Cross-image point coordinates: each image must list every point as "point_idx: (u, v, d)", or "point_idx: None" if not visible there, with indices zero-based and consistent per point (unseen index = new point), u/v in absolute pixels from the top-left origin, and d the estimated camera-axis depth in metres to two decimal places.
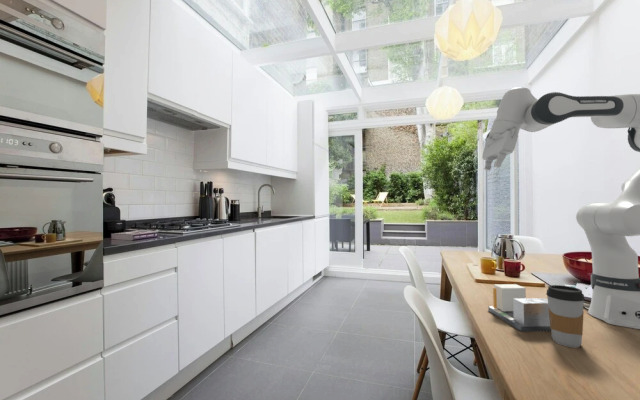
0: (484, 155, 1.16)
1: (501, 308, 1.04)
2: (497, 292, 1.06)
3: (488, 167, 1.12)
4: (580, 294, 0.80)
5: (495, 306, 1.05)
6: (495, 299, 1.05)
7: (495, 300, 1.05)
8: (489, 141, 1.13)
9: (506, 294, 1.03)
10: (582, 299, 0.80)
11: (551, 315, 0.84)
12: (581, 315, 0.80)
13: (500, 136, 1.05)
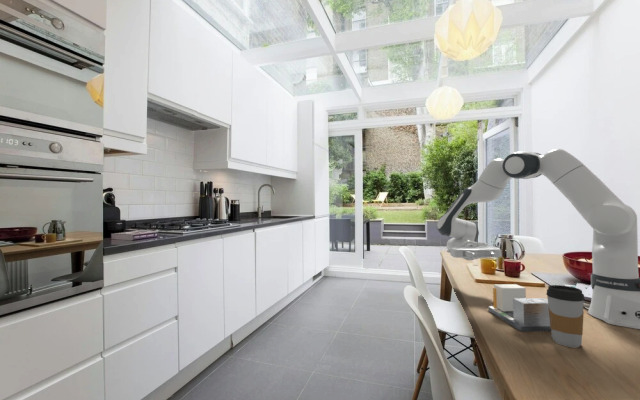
0: None
1: (501, 308, 1.04)
2: (497, 292, 1.06)
3: (490, 254, 1.23)
4: (580, 294, 0.80)
5: (495, 306, 1.05)
6: (495, 299, 1.05)
7: (495, 300, 1.05)
8: (482, 256, 1.33)
9: (506, 294, 1.03)
10: (582, 299, 0.80)
11: (551, 315, 0.84)
12: (581, 315, 0.80)
13: None
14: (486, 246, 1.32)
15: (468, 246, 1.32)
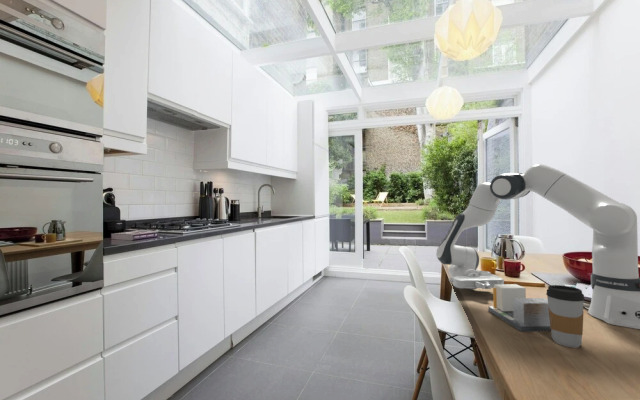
0: None
1: (501, 308, 1.04)
2: (497, 292, 1.06)
3: None
4: (580, 294, 0.80)
5: (495, 306, 1.05)
6: (495, 299, 1.05)
7: (495, 300, 1.05)
8: None
9: (506, 294, 1.03)
10: (582, 299, 0.80)
11: (551, 315, 0.84)
12: (581, 315, 0.80)
13: None
14: (489, 275, 1.31)
15: (470, 275, 1.31)
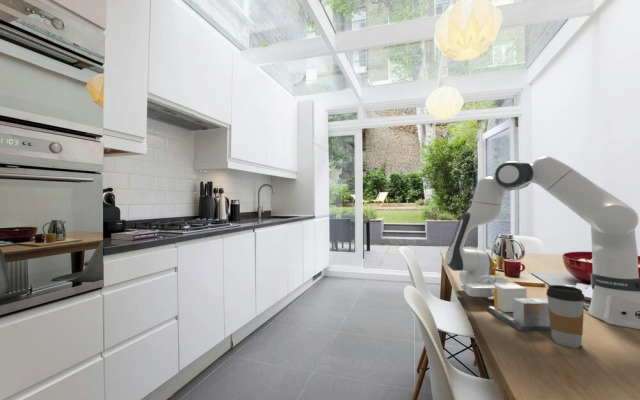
0: None
1: (502, 308, 1.03)
2: (498, 292, 1.06)
3: None
4: (580, 294, 0.80)
5: (496, 307, 1.05)
6: (496, 299, 1.05)
7: (496, 300, 1.05)
8: None
9: (507, 295, 1.03)
10: (582, 299, 0.80)
11: (551, 315, 0.84)
12: (581, 315, 0.80)
13: None
14: (505, 282, 1.19)
15: (485, 282, 1.19)
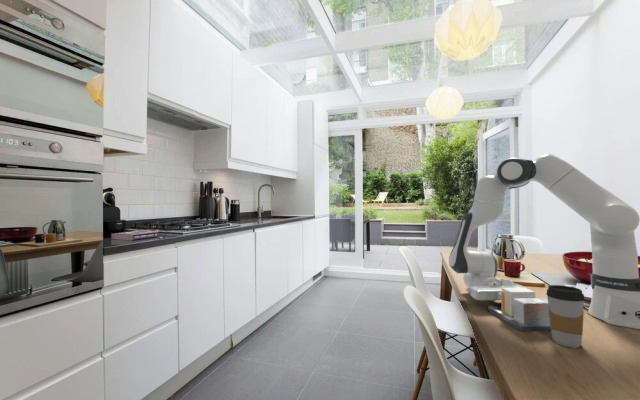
0: None
1: (510, 313, 0.99)
2: (505, 296, 1.01)
3: None
4: (580, 294, 0.80)
5: (503, 311, 1.00)
6: (503, 303, 1.01)
7: (503, 304, 1.01)
8: None
9: None
10: (582, 299, 0.80)
11: (551, 315, 0.84)
12: (581, 315, 0.80)
13: None
14: (512, 285, 1.15)
15: (491, 285, 1.15)
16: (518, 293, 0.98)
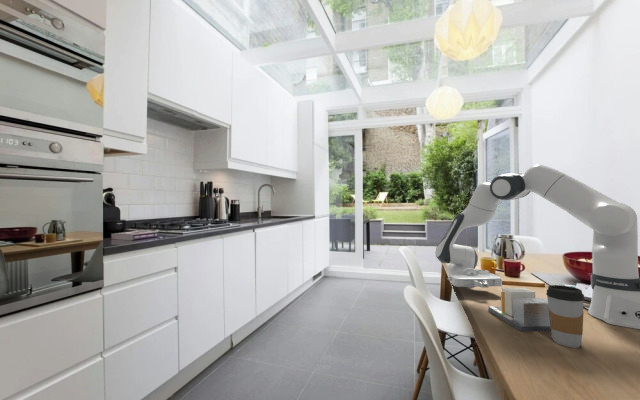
0: None
1: (510, 313, 0.99)
2: (505, 296, 1.01)
3: None
4: (580, 294, 0.80)
5: (503, 311, 1.00)
6: (503, 303, 1.00)
7: (503, 305, 1.00)
8: None
9: None
10: (582, 299, 0.80)
11: (551, 315, 0.84)
12: (581, 315, 0.80)
13: None
14: (487, 274, 1.32)
15: (469, 274, 1.32)
16: (518, 293, 0.98)
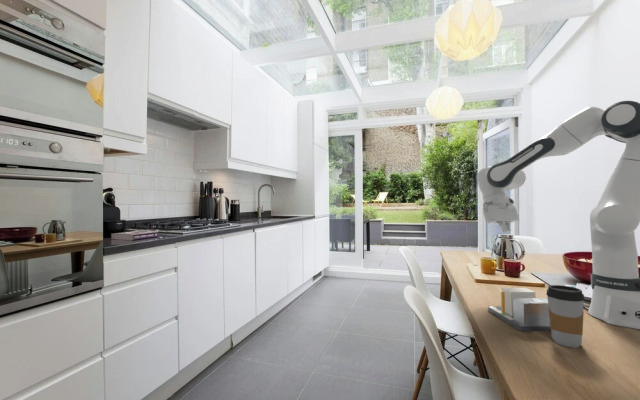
0: None
1: (510, 313, 0.99)
2: (505, 296, 1.01)
3: None
4: (580, 294, 0.80)
5: (503, 311, 1.00)
6: (503, 303, 1.00)
7: (503, 305, 1.00)
8: None
9: None
10: (582, 299, 0.80)
11: (551, 315, 0.84)
12: (581, 315, 0.80)
13: None
14: (511, 207, 1.33)
15: (501, 207, 1.29)
16: (518, 293, 0.98)
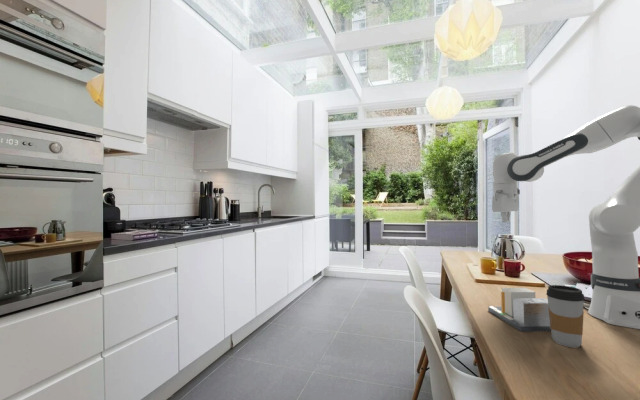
0: None
1: (510, 313, 0.99)
2: (505, 296, 1.01)
3: None
4: (580, 294, 0.80)
5: (503, 311, 1.00)
6: (503, 303, 1.00)
7: (503, 305, 1.00)
8: None
9: None
10: (582, 299, 0.80)
11: (551, 315, 0.84)
12: (581, 315, 0.80)
13: None
14: (516, 197, 1.33)
15: (509, 197, 1.28)
16: (518, 293, 0.98)
